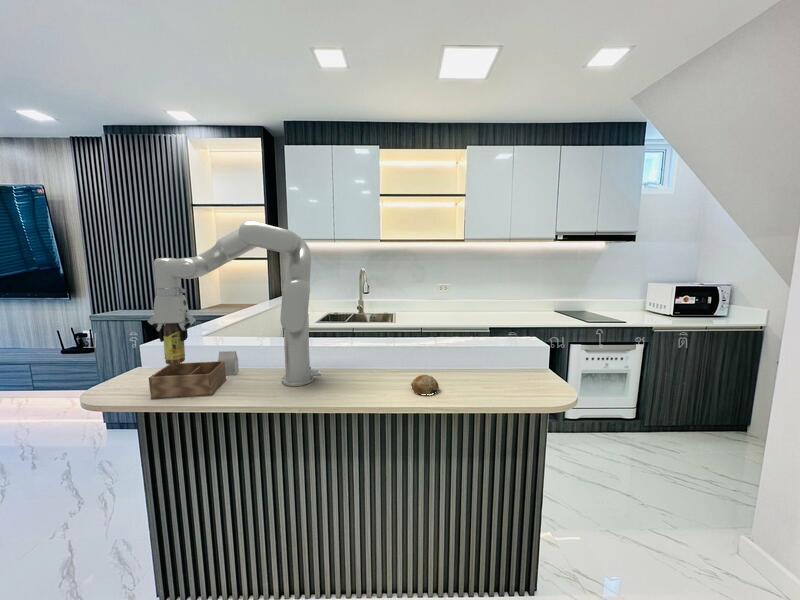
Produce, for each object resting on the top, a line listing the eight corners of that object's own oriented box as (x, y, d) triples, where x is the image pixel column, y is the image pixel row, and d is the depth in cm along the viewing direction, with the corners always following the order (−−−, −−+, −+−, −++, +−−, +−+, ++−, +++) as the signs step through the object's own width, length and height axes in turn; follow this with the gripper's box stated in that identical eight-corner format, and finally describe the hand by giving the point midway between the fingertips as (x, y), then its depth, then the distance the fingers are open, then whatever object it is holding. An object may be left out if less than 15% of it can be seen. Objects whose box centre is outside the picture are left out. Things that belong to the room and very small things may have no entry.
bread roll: (422, 406, 122) (430, 390, 118) (403, 388, 127) (410, 372, 124) (438, 398, 129) (446, 382, 126) (420, 381, 135) (427, 365, 131)
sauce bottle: (175, 365, 121) (170, 311, 118) (161, 364, 122) (155, 311, 119) (190, 360, 127) (185, 308, 124) (176, 358, 128) (171, 308, 125)
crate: (226, 380, 136) (224, 361, 135) (212, 395, 121) (210, 374, 120) (172, 382, 132) (170, 363, 131) (150, 399, 118) (148, 377, 117)
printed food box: (235, 375, 141) (233, 352, 139) (218, 375, 140) (217, 352, 139) (238, 372, 145) (237, 350, 143) (222, 372, 144) (221, 350, 143)
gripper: (199, 290, 126) (203, 337, 128) (148, 291, 123) (153, 338, 125) (191, 293, 118) (194, 342, 121) (136, 293, 115) (141, 344, 118)
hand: (173, 340), depth 123 cm, fingers closed on sauce bottle, 6 cm apart
